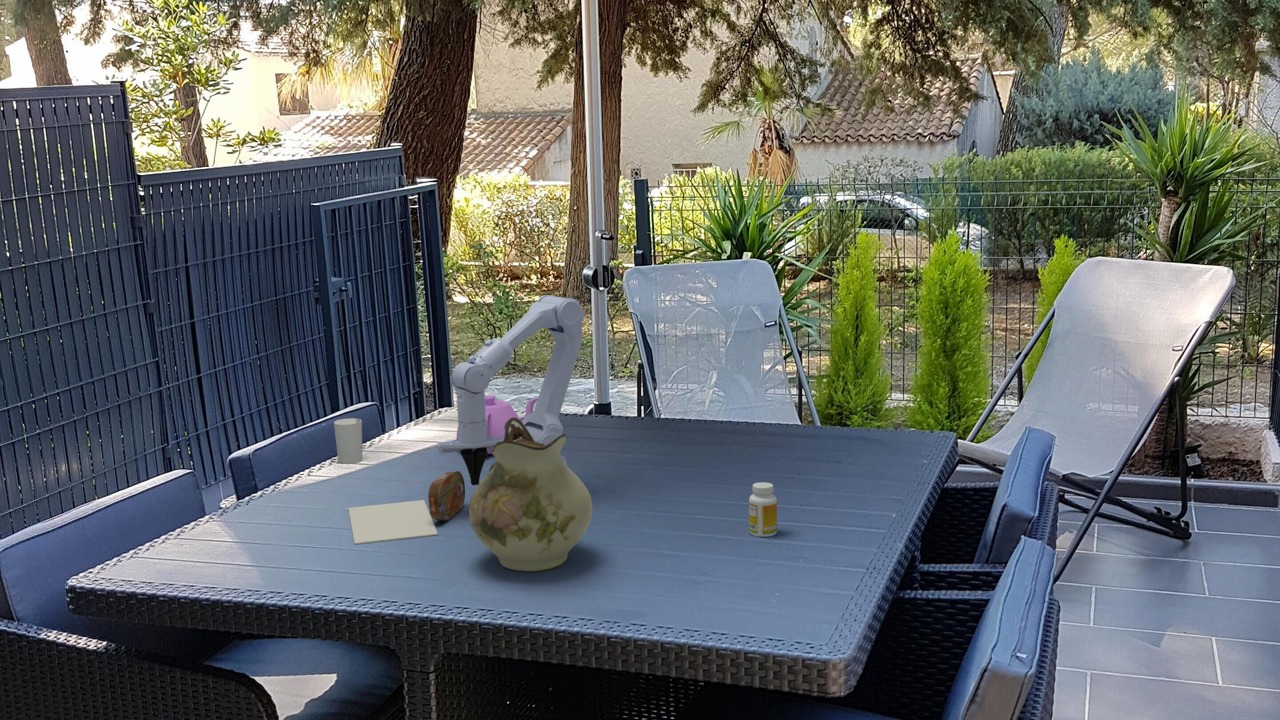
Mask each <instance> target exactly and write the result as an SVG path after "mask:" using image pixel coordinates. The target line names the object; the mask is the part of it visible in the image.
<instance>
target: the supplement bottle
mask: <svg viewBox="0 0 1280 720" xmlns="http://www.w3.org/2000/svg"><path fill="white" fill-rule="evenodd" d="M773 493H774V484H773V483H770V482H763V481H762V482H755V483H753V484H752V494H751V495H749V499H748V515H749V518H748V523H749V524H748V529H749V534H750V535H752V536H754V537H760V538H767V537H772V536H775V535H776V534H777V532H778V514H777V513H778V501H777V499H778V498H777V496H776V495H775V494H773Z"/></svg>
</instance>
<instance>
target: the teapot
mask: <svg viewBox="0 0 1280 720" xmlns="http://www.w3.org/2000/svg"><path fill="white" fill-rule="evenodd" d="M538 397H539V396H537V397H534V398H531V399H530V400H527V403H526V406H525V414H524V417H523V419H522V420H521V418H520V417H519V415H518V413H517V412H516V411H515V409H514V408H513V406H512V405H511V404H510V403H509V402H508V401H504V400H498V399H496V395H494V394H493V395H492V394H490V395H489V394H488V395H485V412H486V433H487V437H504V436H505V428H504V426H505V424H506V422H507V421H508V420H509V419H510V418H512V417H514V418H517V419H519V420H520V421H521V422H522V423H524V420H525V418H526V417H527V416H528V415H529V414H530V413H532V412H533V411H534V408H535V406H534V405H536V403H537V400H538ZM456 440H459V430H458V428H457V430H456ZM492 449H493V448H492ZM492 449H487V452H488V455H492V453H491V450H492ZM472 451H473V450H472Z"/></svg>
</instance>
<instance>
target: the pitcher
mask: <svg viewBox="0 0 1280 720" xmlns="http://www.w3.org/2000/svg"><path fill="white" fill-rule="evenodd" d="M521 421H522V420H521V419H520V420H519V419H517V418H514V417H512V418H510V419H509V420H508V421H507V422H506V424H505V426H504V428H505V436H504V441H502V442H498V443H497V444H496V445H494V446H493V449H492V450H491V453H492V454H491V455H492V456H493V458H494V460H495V461H494V463H493V464H491V466H490V469H489V470H488V473H487V474H486V475H484V477H483V479H482V480H480V481H479V485H476V486H477V487H476V488H475V489H474V491H473V494H471V495H472V496H471V499H470V501H469V508H468V515H469V521H470V525H471V528H472V531H473V533H474V534H475V536H476V537H477V539H478V540H479V542H480V543H481V544H482V545H483V546H484V547H485V548H486V549H488V551H489V552H491V553H492V554H493V555H495V556H497V559H498V562H499V563H500V565H501V566H502V567H504V568H505V569H509V570H513V571H517V572H541V571H546V570H551V569H553V568H554V569H555V568H556V567H560V566H561V565H562V564H564V563H565V562H566V561H567V560H568V554H569V552H570V551H571V550H572V549H573V548H574V547H575V546H576V544H578V542H579V541H580V540H581V539H582V537H583V536H584V534H585V533H586V532H587V530H588V528H589V525H590V523H591V520H592V516H593V501H592V500H593V499H592V496H591V494H590V491H589V490H588V488H587V487H586V485H585V484H584V482H582V481H583V480H581V479H580V478H579V477H578V475H577V474H576V473H575V472H574V471H573V470H572V469H571V468H570V467H569V466H568V465H567V466H566V465H565V464H564V462H563V461H562V460H561V457H560V456H561V451H562V448H563V447H564V445H565V443H566V441H567V439H568V434H565V433H562V435H560V436H559V437H557V438H556V439H554V440H553V441H552V442H550V443H548V444H547V445H544V444H543V443H539V442H535V441H534V439H533V438H532V436H531V434H530V433H529V431H528V430H527V428H526V427H525V425H524V424H523V423H522V422H521Z"/></svg>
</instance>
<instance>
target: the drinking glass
mask: <svg viewBox="0 0 1280 720" xmlns="http://www.w3.org/2000/svg"><path fill="white" fill-rule="evenodd" d="M333 426H334V427H333V428H334V436H335V445H336V454H337V462H338V463H339V464H341V465H342V464H343V465H352V464H353V465H354V464H358V463H360V462H362V461H363V421H362V419H360V418H352V417H351V418H342V419H337V420H334V422H333Z"/></svg>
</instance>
